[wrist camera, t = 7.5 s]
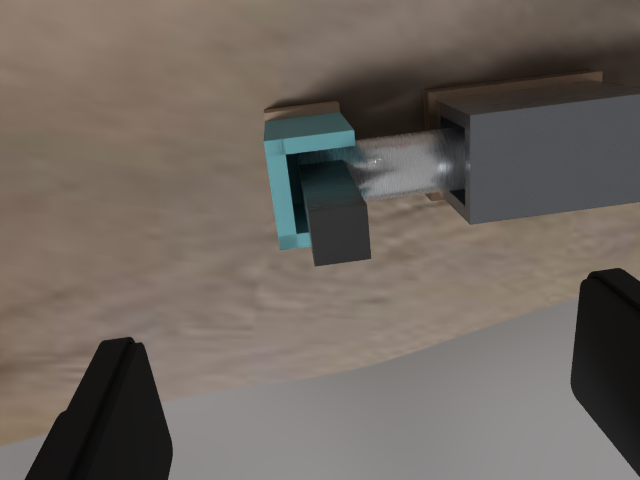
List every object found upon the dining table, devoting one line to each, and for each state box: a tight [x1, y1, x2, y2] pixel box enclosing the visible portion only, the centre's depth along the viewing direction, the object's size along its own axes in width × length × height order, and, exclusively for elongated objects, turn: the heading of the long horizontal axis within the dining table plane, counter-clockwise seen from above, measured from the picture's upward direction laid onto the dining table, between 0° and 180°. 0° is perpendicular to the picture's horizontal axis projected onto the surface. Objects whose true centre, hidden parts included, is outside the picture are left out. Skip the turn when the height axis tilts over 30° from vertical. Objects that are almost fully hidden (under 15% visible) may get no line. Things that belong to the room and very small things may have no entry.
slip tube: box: [297, 126, 465, 266], centre depth 27 cm, size 12×4×11 cm, turn 96°
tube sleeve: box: [422, 69, 640, 225], centre depth 32 cm, size 11×7×8 cm, turn 96°
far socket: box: [264, 101, 355, 250], centre depth 31 cm, size 5×7×8 cm, turn 6°
